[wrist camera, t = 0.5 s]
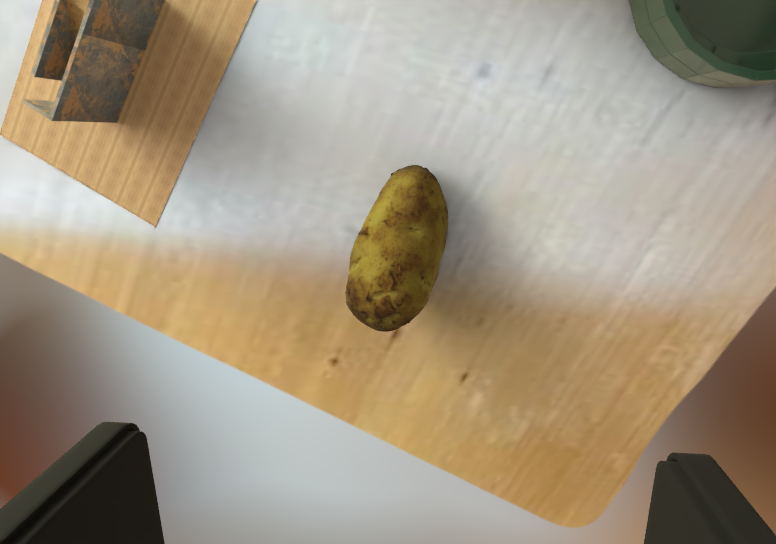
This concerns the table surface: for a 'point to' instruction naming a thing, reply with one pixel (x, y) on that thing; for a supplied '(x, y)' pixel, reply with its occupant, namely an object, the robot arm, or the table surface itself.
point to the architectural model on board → (122, 90)
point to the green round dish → (711, 39)
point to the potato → (398, 251)
